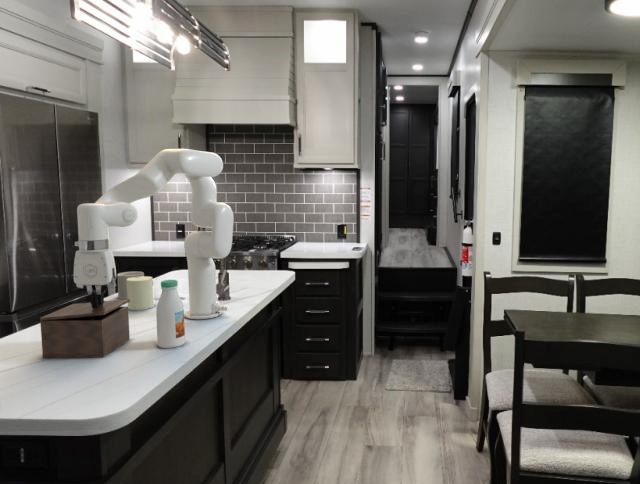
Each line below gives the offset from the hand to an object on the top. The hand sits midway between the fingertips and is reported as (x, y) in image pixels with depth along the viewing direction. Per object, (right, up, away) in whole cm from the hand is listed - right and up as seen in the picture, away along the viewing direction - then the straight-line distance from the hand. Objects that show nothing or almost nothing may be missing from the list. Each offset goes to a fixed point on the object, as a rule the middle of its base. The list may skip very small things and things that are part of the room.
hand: (97, 306), depth 146 cm
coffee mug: (-24, -5, +66) cm, 70 cm away
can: (-13, -7, +49) cm, 51 cm away
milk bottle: (+19, -13, +6) cm, 24 cm away
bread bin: (-3, -13, +1) cm, 13 cm away
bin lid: (-3, -1, 0) cm, 3 cm away
